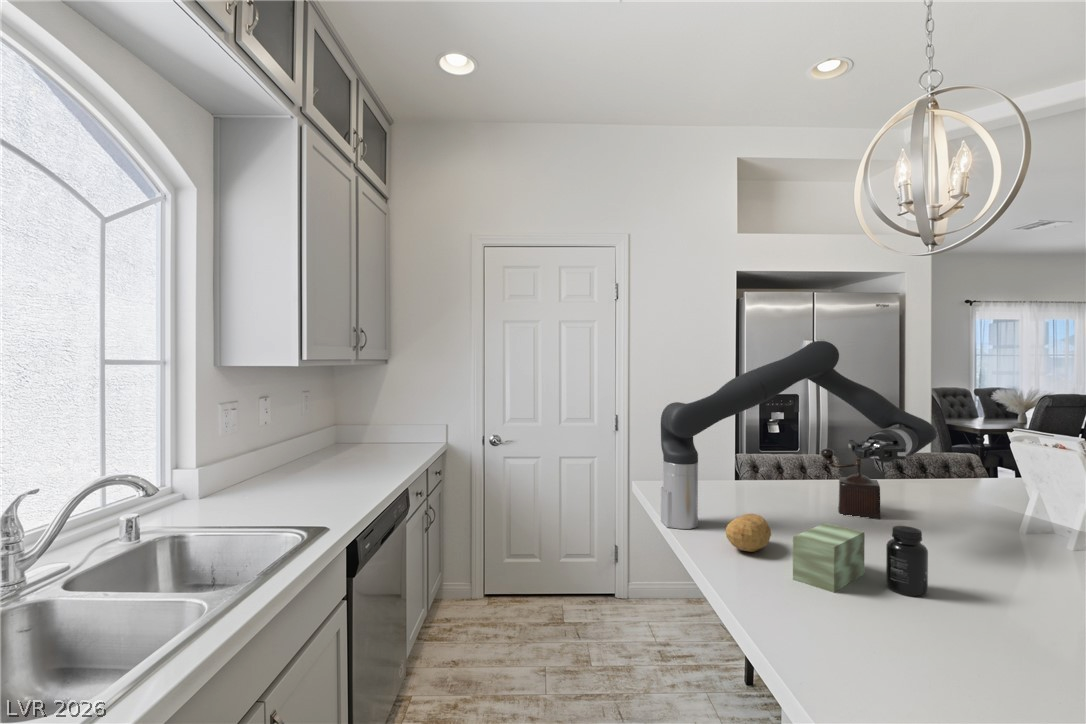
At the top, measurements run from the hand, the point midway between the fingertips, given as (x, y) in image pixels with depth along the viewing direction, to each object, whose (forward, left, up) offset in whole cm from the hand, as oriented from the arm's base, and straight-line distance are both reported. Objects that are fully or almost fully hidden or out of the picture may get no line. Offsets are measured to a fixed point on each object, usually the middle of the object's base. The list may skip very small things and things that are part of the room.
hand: (860, 454), depth 123 cm
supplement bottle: (-3, -17, -24) cm, 30 cm away
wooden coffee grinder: (+22, +37, -24) cm, 49 cm away
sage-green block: (-14, -10, -24) cm, 29 cm away
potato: (-23, +7, -24) cm, 34 cm away
